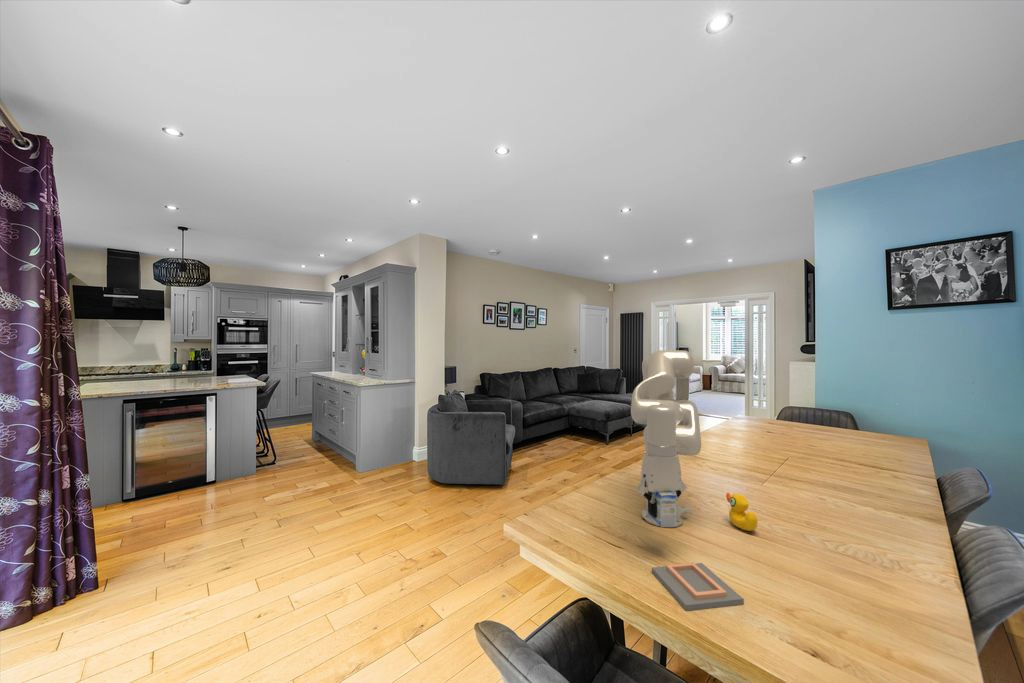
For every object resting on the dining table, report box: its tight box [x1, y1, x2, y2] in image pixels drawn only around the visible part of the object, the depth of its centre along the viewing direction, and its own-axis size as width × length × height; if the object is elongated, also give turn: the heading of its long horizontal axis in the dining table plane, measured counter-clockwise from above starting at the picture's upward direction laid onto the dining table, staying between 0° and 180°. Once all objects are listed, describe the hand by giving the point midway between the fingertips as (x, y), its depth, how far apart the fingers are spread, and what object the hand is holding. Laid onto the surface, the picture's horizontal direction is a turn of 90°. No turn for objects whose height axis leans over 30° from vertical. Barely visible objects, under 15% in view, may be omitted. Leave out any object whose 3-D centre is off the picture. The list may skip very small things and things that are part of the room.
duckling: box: [725, 492, 758, 532], centre depth 118 cm, size 11×5×10 cm, turn 10°
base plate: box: [651, 562, 745, 612], centre depth 87 cm, size 14×14×2 cm
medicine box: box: [648, 491, 676, 528], centre depth 102 cm, size 8×4×9 cm, turn 5°
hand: (661, 514), depth 102 cm, fingers closed on medicine box, 4 cm apart
